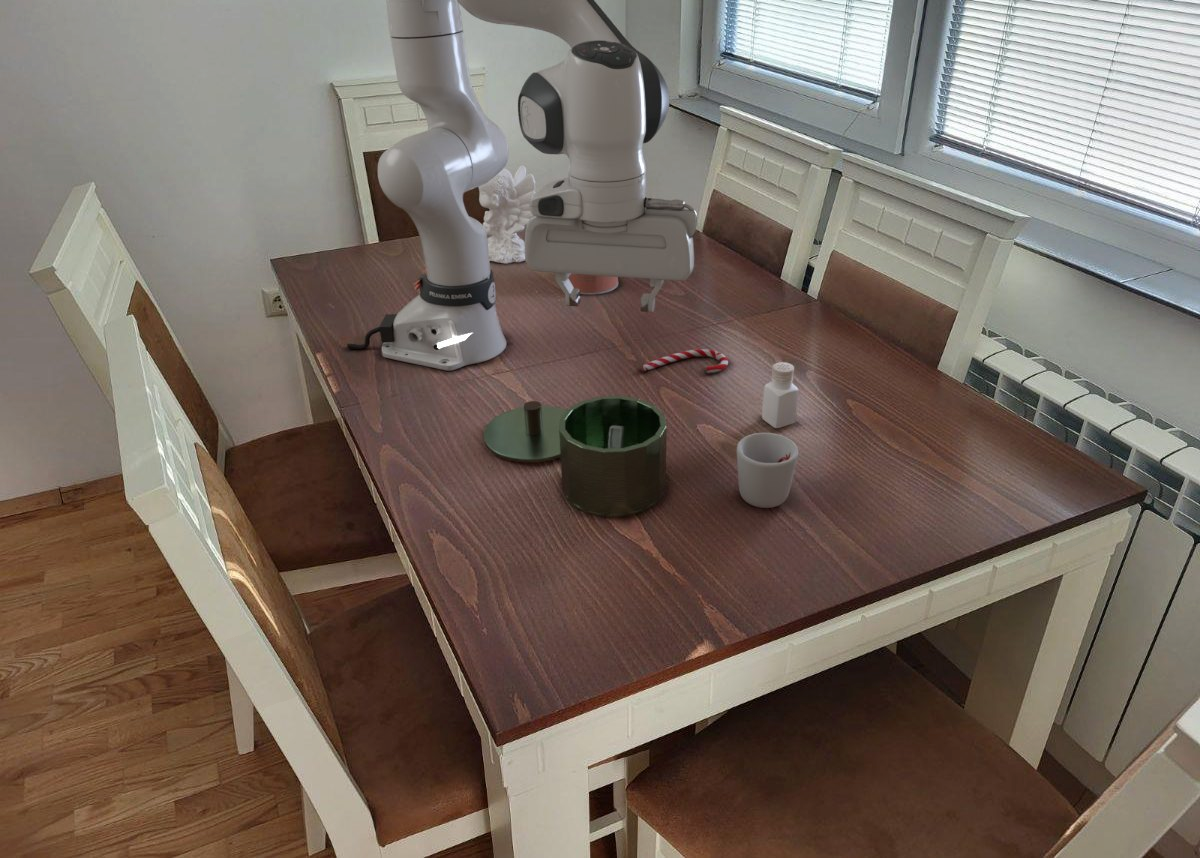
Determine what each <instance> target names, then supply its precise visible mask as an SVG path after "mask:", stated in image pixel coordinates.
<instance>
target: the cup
mask: <svg viewBox="0 0 1200 858" xmlns="http://www.w3.org/2000/svg"><path fill="white" fill-rule="evenodd" d="M736 445H737V446H736V463H737V464H736V465H737V480H738V491H739V495H740V496H741V498H742V500H743V501H745V502H746V503H747V504H749V505H751V506H753V507H756V508H760V509H772V508H775V507H776V508H777V507H779V506H781V505H782V504H783V503H784V502H785V501H786V500H787V499H788V497H789V495H790V491H791V487H792V482H793V478H794V474H795V470H796V466H797V461H798V457H799V449H798V446H797V445H796V443H795V442H794V441H792V439H790V438H788V437H786V436H784V435H782V434H777V433H773V432H756V433H752V434H748V435H745V436H744V437H742V438H741V439H740V440H739V442H738V443H737V444H736Z"/></svg>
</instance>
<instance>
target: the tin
mask: <svg viewBox="0 0 1200 858" xmlns="http://www.w3.org/2000/svg"><path fill="white" fill-rule="evenodd" d="M666 419H667V418H666V415H665V414H664V412H662V411H661V410H660V408H659V407H657V406H656V405H655V404H652V403H650V402H648V401H645V400H644V399H640V398H637V397H631V396H625V395H602V396H597V397H593V398H588V399H584V400H580V401H579V402H577V403H575V404H573V405H572V406H569V407H568V408H567V409H566V411H565V413H564V414H563V415H562V416H561V418H560V419H559V437H560V454H561V457H560V467H561V469H560V470H561V485H562V492H563V495H564V498H565V499H566V501H567V502H568V503H569V504H570V505H571V506H572V507H574V508H575V509H576V510H578V511H581V512H583V513H586V514H588V515H591V516H595V517H601V518H624V517H631V516H635V515H638V514H641V513H643V512H645V511H648V510H649V509H651V508H653V507H654V506H656V505H657V504H658V503H659V502H660V501H661V499H662V498H663V496H664V494H665V490H666V488H667V437H668V435H667V434H668V433H667V432H668V431H667V428H668V425H667V420H666ZM613 425H616V426H623V427H624V434H623V445H622V448H608V440H609V429H610V427H611V426H613Z"/></svg>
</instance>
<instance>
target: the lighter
mask: <svg viewBox="0 0 1200 858" xmlns="http://www.w3.org/2000/svg"><path fill="white" fill-rule="evenodd" d="M623 434H624V427H623V426H616V425H613V426H611V427H610V429H609V440H608V448H622V445H623Z"/></svg>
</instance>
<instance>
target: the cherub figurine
mask: <svg viewBox="0 0 1200 858" xmlns="http://www.w3.org/2000/svg"><path fill="white" fill-rule="evenodd" d="M536 188H537V187H536V179H535V177H534V175H533V174H532V173H529V174H527V168H526V166H525V165H520V166H519V167H518V168H517V170H516V172H515V174H514V177H513V175H512V173H511V172H510V170H509V169H507V168H505V167H504V169H503V170H502V171H501V172H499V173H498V174H497V175H496V176H495V177H494V178H492V179H491V180H490V181H489V182H487V183H486V184H483V185H481V186H479V187H478V191H479V192H478V193H479V196H478V198H479V199H478V201H479V202H478V203H479V204H480V206H481V207H482V208H485V209H488V210H486V211H484V215H483V223H482V225H483V226H484V228H485V230H486V232H487V240H488V251H489V261H490V262H495V263H498V264H511V263H521V262H524V261H525V240H523V239H522V238H521V237H520V236H519V235H518V233H521V232H523V231H524V230H525V229H526V226H527V223H528V221H529V220H530V219H531V217H532V216H533V215H532V213H531V212H530V205H529V203H530V200H531V198H532V197H533V195H534V194H535V193H536V191H535V190H536ZM488 235H489V237H488ZM525 262H526V261H525Z"/></svg>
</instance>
